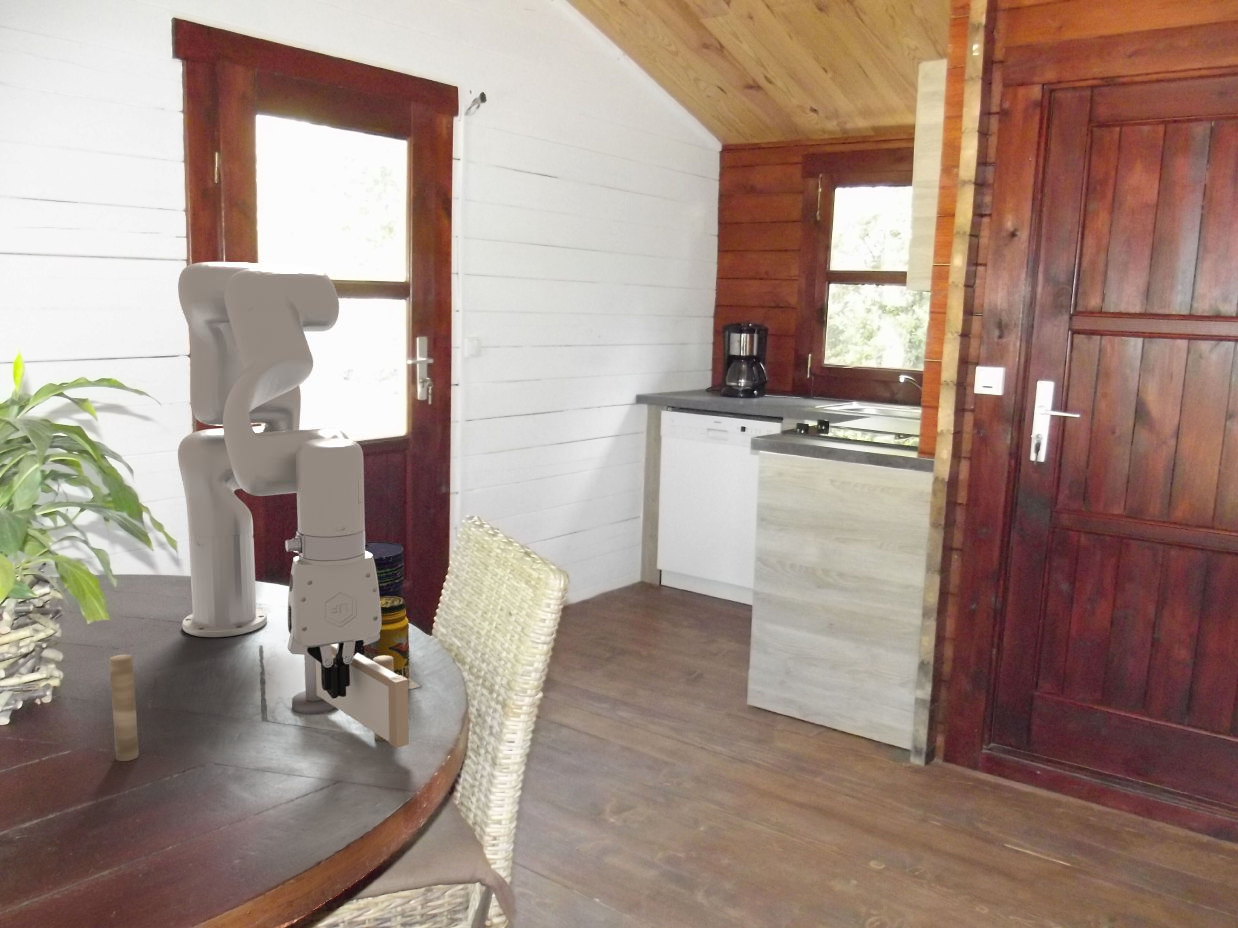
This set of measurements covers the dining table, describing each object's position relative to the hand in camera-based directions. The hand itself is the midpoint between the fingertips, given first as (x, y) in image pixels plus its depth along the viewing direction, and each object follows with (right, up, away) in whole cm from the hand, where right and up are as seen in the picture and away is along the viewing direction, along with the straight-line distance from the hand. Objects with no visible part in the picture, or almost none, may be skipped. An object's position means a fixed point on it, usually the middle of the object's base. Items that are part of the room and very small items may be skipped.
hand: (336, 693), depth 123 cm
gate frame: (-10, -6, 0) cm, 11 cm away
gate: (+1, -5, +4) cm, 6 cm away
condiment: (+1, -3, +19) cm, 19 cm away
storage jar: (-4, 0, +35) cm, 35 cm away
